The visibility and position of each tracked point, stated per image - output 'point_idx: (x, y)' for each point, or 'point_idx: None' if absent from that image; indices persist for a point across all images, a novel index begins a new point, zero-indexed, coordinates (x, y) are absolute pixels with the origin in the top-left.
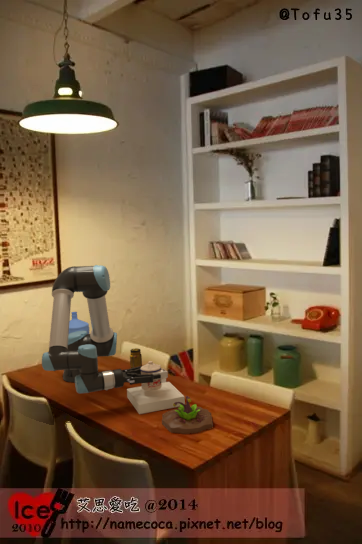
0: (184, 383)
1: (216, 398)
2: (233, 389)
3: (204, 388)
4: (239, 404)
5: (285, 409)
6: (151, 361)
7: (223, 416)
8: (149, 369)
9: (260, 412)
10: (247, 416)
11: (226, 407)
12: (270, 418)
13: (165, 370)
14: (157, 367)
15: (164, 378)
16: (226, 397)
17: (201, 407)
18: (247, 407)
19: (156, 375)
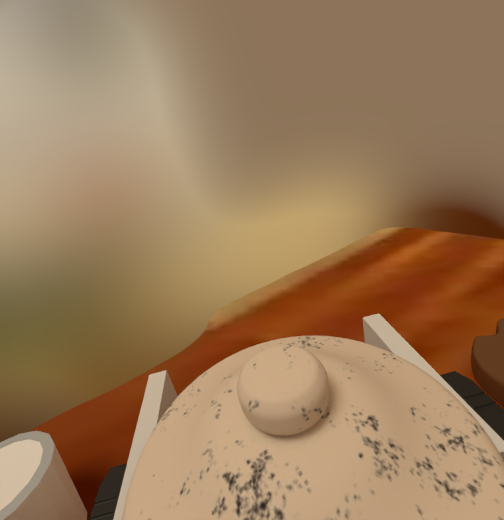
0: (129, 402)
1: (327, 315)
2: (264, 287)
3: (223, 342)
4: (381, 276)
5: (406, 228)
6: (282, 353)
7: (500, 300)
8: (482, 464)
9: (435, 249)
10: (474, 262)
11: (410, 295)
12: (471, 237)
13: (26, 435)
14: (360, 351)
15: (68, 474)
16: (322, 297)
17: (480, 336)
18: (403, 265)
19: (502, 415)
